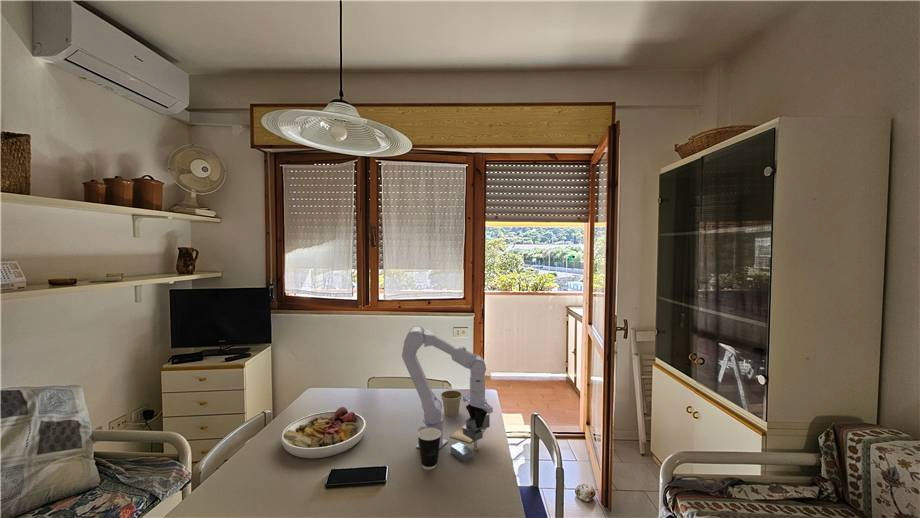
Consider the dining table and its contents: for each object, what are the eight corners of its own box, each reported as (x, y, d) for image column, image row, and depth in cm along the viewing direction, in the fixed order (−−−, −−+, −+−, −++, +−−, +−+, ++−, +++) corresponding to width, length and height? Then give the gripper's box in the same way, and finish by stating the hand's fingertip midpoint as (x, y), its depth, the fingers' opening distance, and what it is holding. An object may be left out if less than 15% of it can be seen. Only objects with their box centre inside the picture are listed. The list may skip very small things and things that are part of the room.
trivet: (470, 443, 142) (470, 442, 142) (449, 437, 147) (449, 436, 147) (486, 429, 153) (486, 428, 153) (466, 423, 158) (466, 422, 158)
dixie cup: (424, 456, 133) (424, 425, 133) (445, 462, 130) (445, 430, 130) (413, 469, 126) (413, 436, 125) (434, 474, 123) (434, 441, 122)
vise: (470, 444, 142) (470, 434, 141) (483, 452, 136) (483, 442, 136) (450, 452, 136) (450, 443, 136) (463, 461, 130) (463, 451, 130)
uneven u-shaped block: (485, 424, 146) (485, 411, 146) (497, 431, 141) (497, 418, 141) (462, 433, 139) (462, 420, 139) (474, 441, 134) (474, 427, 134)
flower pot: (453, 420, 161) (453, 400, 160) (436, 414, 166) (436, 395, 166) (466, 412, 168) (466, 393, 168) (449, 407, 174) (449, 388, 174)
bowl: (341, 467, 127) (340, 444, 127) (262, 457, 133) (262, 435, 133) (378, 426, 156) (378, 407, 156) (312, 419, 163) (312, 401, 162)
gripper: (498, 393, 138) (498, 429, 139) (472, 381, 150) (472, 415, 150) (484, 397, 134) (484, 435, 134) (458, 385, 145) (458, 420, 146)
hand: (477, 425), depth 142 cm, fingers closed on uneven u-shaped block, 2 cm apart
